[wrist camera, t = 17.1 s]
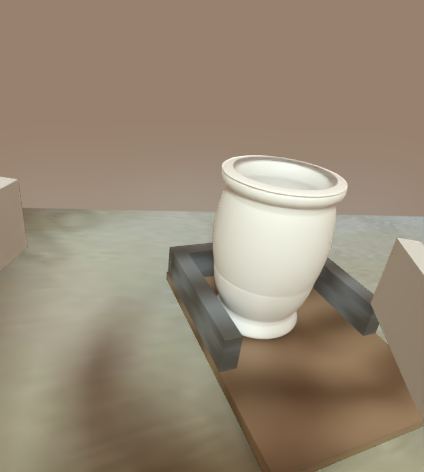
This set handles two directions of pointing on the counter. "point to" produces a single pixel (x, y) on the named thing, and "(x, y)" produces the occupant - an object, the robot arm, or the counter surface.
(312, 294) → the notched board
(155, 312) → the counter surface
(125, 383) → the counter surface
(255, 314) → the jar
